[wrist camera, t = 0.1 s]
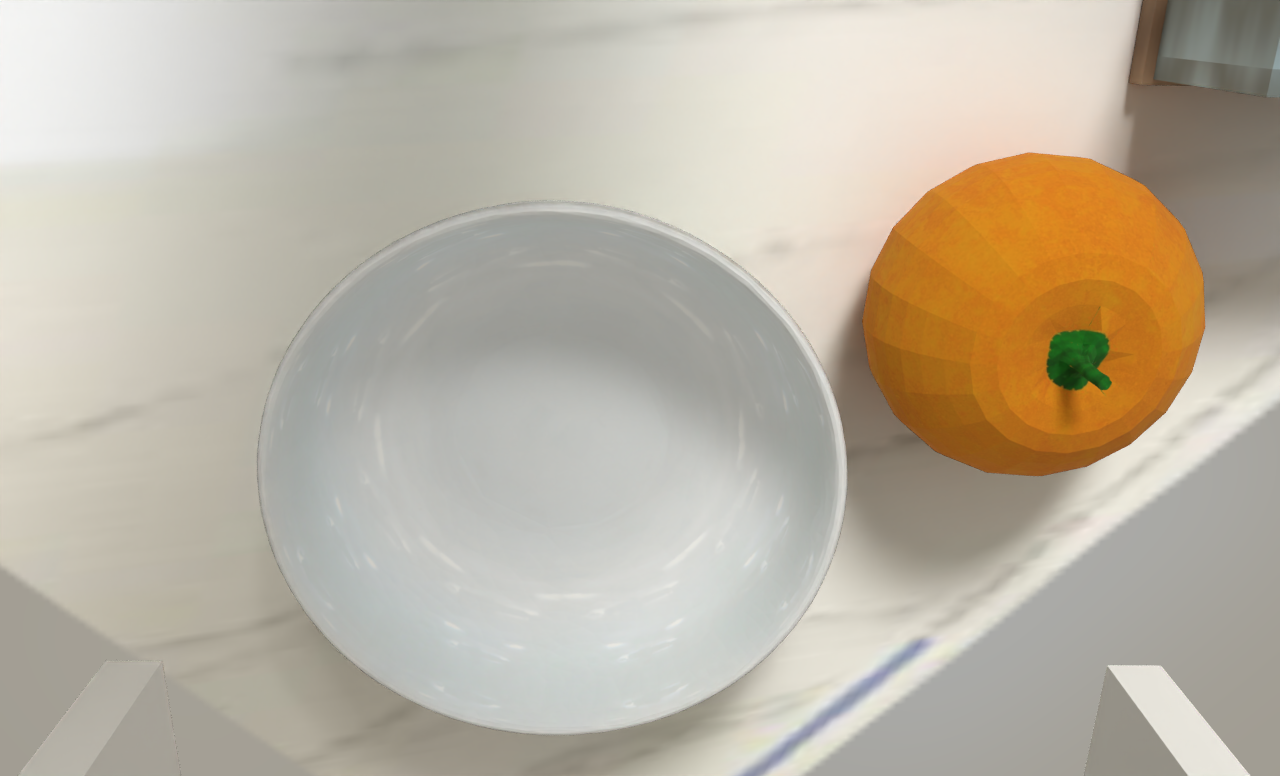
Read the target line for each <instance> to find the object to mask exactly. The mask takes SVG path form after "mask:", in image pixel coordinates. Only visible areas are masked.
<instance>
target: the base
mask: <svg viewBox="0 0 1280 776" xmlns="http://www.w3.org/2000/svg"><path fill="white" fill-rule="evenodd" d="M1129 83H1134V84H1139V85H1180V86H1199V87H1205V88H1211V89H1218V90H1224V91H1230V92H1237V93H1243V94H1249V95H1256V96H1262V97H1280V0H1143V4H1142V9H1141V15H1140V21H1139V26H1138V32H1137V38H1136V43H1135V49H1134V55H1133V61H1132V66H1131V72H1130V78H1129Z"/></svg>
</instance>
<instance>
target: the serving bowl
mask: <svg viewBox="0 0 1280 776" xmlns="http://www.w3.org/2000/svg"><path fill="white" fill-rule="evenodd" d="M257 480H258V490H259V499H260V506H261V512H262V517H263V521H264V525H265V529H266V533H267V536H268V539H269V543H270V546H271V548H272V551H273V554H274V557H275V559H276V561H277V564H278V566H279V568H280V570H281V572H282V574H283V576H284V578H285V580H286V582H287V584H288V586H289V588H290V590H291V591H292V593H293V595H294V596H295V598H296V599H297V601H298V602H299V604H300V605H301V607H302V608H303V610H304V611H305V613H306V614H307V616H308V617H309V618H310V619H311V621H312V622H313V623H314V624H315V625H316V627H317V628H318V629H319V630H320V631H321V633H322V634H323V635H324V636H325V637H326V638H327V639H328V640H329V642H330V643H331V644H332V645H333V646H334V647H335V648H336V649H337V650H338V651H339V652H340V653H341V654H342V655H344V656H345V657H346V658H347V659H348V660H350V661H351V662H352V663H353V664H354V665H356V666H357V667H358V668H359V669H360V670H361V671H363V672H364V673H365V674H367V675H368V676H370V677H371V678H372V679H374V680H375V681H377V682H378V683H380V684H381V685H383V686H385V687H386V688H388V689H390V690H391V691H393V692H395V693H397V694H398V695H400V696H402V697H404V698H406V699H408V700H410V701H412V702H414V703H416V704H418V705H420V706H422V707H424V708H426V709H428V710H431V711H434V712H436V713H439V714H441V715H444V716H447V717H449V718H452V719H456V720H459V721H462V722H466V723H469V724H473V725H476V726H481V727H485V728H490V729H495V730H500V731H507V732H514V733H523V734H534V735H577V734H588V733H599V732H607V731H613V730H618V729H624V728H629V727H633V726H637V725H641V724H645V723H649V722H653V721H656V720H659V719H662V718H665V717H667V716H670V715H673V714H676V713H678V712H681V711H684V710H686V709H688V708H690V707H692V706H694V705H697V704H699V703H701V702H703V701H705V700H706V699H708V698H710V697H712V696H713V695H715V694H717V693H719V692H721V691H722V690H724V689H726V688H727V687H729V686H730V685H732V684H733V683H735V682H736V681H738V680H739V679H740V678H742V677H743V676H744V675H746V674H747V673H749V672H750V671H751V670H752V669H754V668H755V667H756V666H757V665H758V664H759V663H761V662H762V661H763V660H764V659H765V658H766V657H767V656H768V655H769V654H770V653H771V652H773V650H774V649H775V648H776V647H777V646H778V645H779V644H780V643H781V642H782V641H783V640H784V639H785V638H786V636H787V635H788V634H789V633H790V632H791V631H792V629H793V628H794V627H795V626H796V624H797V623H798V622H799V620H800V619H801V617H802V616H803V615H804V613H805V612H806V610H807V609H808V607H809V606H810V604H811V603H812V601H813V599H814V598H815V596H816V594H817V592H818V590H819V588H820V586H821V584H822V582H823V580H824V578H825V576H826V574H827V571H828V569H829V567H830V564H831V561H832V559H833V556H834V553H835V551H836V547H837V544H838V540H839V537H840V533H841V528H842V524H843V519H844V512H845V506H846V495H847V455H846V445H845V439H844V433H843V427H842V421H841V417H840V413H839V410H838V406H837V402H836V399H835V397H834V394H833V391H832V388H831V385H830V383H829V380H828V377H827V375H826V373H825V371H824V369H823V367H822V365H821V363H820V361H819V359H818V357H817V355H816V353H815V352H814V350H813V348H812V346H811V344H810V343H809V341H808V339H807V338H806V336H805V335H804V334H803V332H802V331H801V329H800V328H799V326H798V325H797V323H796V322H795V321H794V320H793V318H792V317H791V316H790V315H789V313H788V312H787V311H786V310H785V308H784V307H783V306H782V305H781V304H780V303H779V302H778V300H777V299H776V298H775V297H774V296H773V295H772V294H771V293H770V292H769V291H768V290H767V289H766V288H765V287H764V286H763V285H762V284H761V283H760V282H759V281H758V280H756V279H755V278H754V277H753V276H752V275H750V274H749V273H748V272H747V271H746V270H744V269H743V268H742V267H741V266H740V265H738V264H737V263H736V262H734V261H733V260H731V259H730V258H729V257H727V256H726V255H724V254H723V253H721V252H720V251H718V250H716V249H715V248H713V247H712V246H710V245H709V244H707V243H705V242H703V241H702V240H700V239H698V238H696V237H694V236H693V235H691V234H689V233H687V232H685V231H682V230H680V229H678V228H676V227H674V226H672V225H669V224H667V223H664V222H662V221H659V220H657V219H655V218H651V217H648V216H645V215H642V214H639V213H635V212H632V211H628V210H624V209H620V208H616V207H611V206H606V205H600V204H594V203H585V202H574V201H560V200H555V201H526V202H517V203H508V204H502V205H497V206H492V207H487V208H481V209H477V210H474V211H470V212H467V213H463V214H459V215H456V216H453V217H450V218H447V219H444V220H441V221H438V222H436V223H434V224H431V225H429V226H427V227H424V228H422V229H419V230H417V231H415V232H413V233H411V234H409V235H407V236H405V237H403V238H401V239H399V240H397V241H395V242H393V243H392V244H390V245H388V246H387V247H385V248H384V249H382V250H380V251H379V252H377V253H376V254H375V255H373V256H372V257H370V258H369V259H367V260H366V261H365V262H363V263H362V264H360V265H359V266H358V267H357V268H356V269H354V270H353V271H352V272H351V273H350V274H349V275H347V276H346V277H345V278H344V279H343V280H342V281H341V282H340V283H338V284H337V285H336V286H335V287H334V288H333V289H332V290H331V291H330V292H329V293H328V294H327V296H326V297H325V298H324V299H323V300H322V301H321V302H320V303H319V304H318V306H317V307H316V308H315V309H314V310H313V312H312V313H311V314H310V315H309V317H308V318H307V319H306V321H305V322H304V324H303V325H302V327H301V328H300V330H299V331H298V333H297V334H296V336H295V337H294V339H293V340H292V342H291V344H290V345H289V347H288V349H287V351H286V353H285V355H284V357H283V359H282V361H281V363H280V365H279V367H278V369H277V371H276V374H275V377H274V379H273V382H272V385H271V388H270V391H269V393H268V397H267V400H266V404H265V408H264V412H263V416H262V421H261V427H260V433H259V441H258V452H257Z"/></svg>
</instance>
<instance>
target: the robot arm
mask: <svg viewBox="0 0 1280 776" xmlns="http://www.w3.org/2000/svg"><path fill="white" fill-rule="evenodd" d="M18 776H181V772H180V766H179V760H178V753H177V747H176V741H175V735H174V729H173V723H172V717H171V711H170V705H169V699H168V693H167V687H166V681H165V675H164V669H163V663H162V661H105V662H104V663H103V665H102V666H101V667H100V668H99V670H98V671H97V672H96V674H95V675H94V676H93V678H92V679H91V680H90V682H89V683H88V684H87V686H86V687H85V688H84V689H83V691H82V692H81V694H80V695H79V696H78V697H77V699H76V700H75V701H74V703H73V704H72V705H71V706H70V708H69V709H68V710H67V712H66V713H65V714H64V716H63V717H62V718H61V720H60V721H59V722H58V723H57V725H56V726H55V727H54V729H53V730H52V731H51V733H50V734H49V735H48V737H47V738H46V739H45V741H44V742H43V743H42V744H41V746H40V747H39V748H38V750H37V751H36V752H35V754H34V755H33V756H32V758H31V759H30V760H29V761H28V763H27V764H26V765H25V767H24V768H23V769H22V771H21V772H20V773H19V775H18ZM1084 776H1250V775H1249V774H1248V772H1247V771H1246V770H1245V769H1244V768H1243V766H1242V765H1241V764H1240V763H1239V761H1238V760H1237V759H1236V758H1235V756H1234V755H1233V754H1232V753H1231V751H1230V750H1229V749H1228V748H1227V747H1226V746H1225V744H1224V743H1223V742H1222V740H1221V739H1220V738H1219V737H1218V736H1217V734H1216V733H1215V732H1214V731H1213V729H1212V728H1211V727H1210V726H1209V724H1208V723H1207V722H1206V721H1205V720H1204V718H1203V717H1202V716H1201V715H1200V713H1199V712H1198V711H1197V710H1196V708H1195V707H1194V706H1193V705H1192V703H1191V702H1190V701H1189V700H1188V699H1187V697H1186V696H1185V695H1184V694H1183V692H1182V691H1181V690H1180V689H1179V687H1178V686H1177V685H1176V684H1175V683H1174V681H1173V680H1172V679H1171V678H1170V676H1169V675H1168V674H1167V673H1166V671H1165V670H1164V669H1163V668H1162V667H1161V666H1127V665H1125V666H1124V665H1123V666H1122V665H1120V666H1119V665H1117V666H1116V665H1107V669H1106V673H1105V678H1104V682H1103V688H1102V692H1101V697H1100V702H1099V706H1098V711H1097V716H1096V720H1095V725H1094V729H1093V734H1092V739H1091V743H1090V748H1089V753H1088V758H1087V762H1086V767H1085V772H1084Z"/></svg>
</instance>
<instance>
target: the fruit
mask: <svg viewBox="0 0 1280 776" xmlns="http://www.w3.org/2000/svg"><path fill="white" fill-rule="evenodd" d="M862 323H863V330H864V336H865V343H866V349H867V355H868V362H869V367H870V370H871V372H872V375H873V377H874V378H875V380H876V382H877V384H878V386H879V388H880V389H881V391H882V393H883V395H884V397H885V398H886V400H887V402H888V404H889V406H890V408H891V409H892V411H893V413H894V415H895V416H896V417H897V418H898V419H899V420H900V421H901V422H902V423H903V424H905V425H906V426H907V427H908V428H909V429H910V430H911V431H913V432H914V433H915V434H916V435H917V436H918V437H919V438H921V439H922V440H923V441H924V442H925V443H926V444H927V445H929V446H930V447H931V448H932V449H933V450H934V451H936V452H938V453H940V454H942V455H945V456H947V457H950V458H952V459H955V460H957V461H960V462H962V463H964V464H967V465H969V466H972V467H974V468H977V469H979V470H982V471H984V472H987V473H1000V474H1013V475H1026V476H1044V475H1049V474H1053V473H1058V472H1063V471H1068V470H1072V469H1077V468H1082V467H1087V466H1089V465H1091V464H1093V463H1095V462H1097V461H1099V460H1101V459H1103V458H1105V457H1106V456H1108V455H1110V454H1112V453H1114V452H1116V451H1118V450H1120V449H1122V448H1124V447H1126V446H1128V445H1130V444H1131V443H1132V442H1133V441H1134V440H1136V439H1137V438H1138V437H1139V436H1140V435H1141V434H1142V433H1143V432H1145V431H1146V430H1147V429H1148V428H1149V427H1150V426H1151V425H1152V424H1154V423H1155V422H1156V421H1157V420H1158V419H1159V418H1160V417H1161V416H1162V415H1164V414H1165V413H1166V411H1167V410H1168V408H1169V407H1170V405H1171V404H1172V402H1173V401H1174V399H1175V397H1176V396H1177V394H1178V393H1179V391H1180V390H1181V388H1182V387H1183V385H1184V384H1185V382H1186V380H1187V379H1188V377H1189V376H1190V374H1191V373H1192V370H1193V367H1194V363H1195V360H1196V356H1197V353H1198V350H1199V346H1200V343H1201V340H1202V336H1203V333H1204V329H1205V309H1204V281H1203V273H1202V270H1201V268H1200V265H1199V263H1198V261H1197V258H1196V256H1195V253H1194V251H1193V248H1192V246H1191V243H1190V241H1189V239H1188V236H1187V234H1186V231H1185V229H1184V228H1183V226H1182V225H1181V223H1180V222H1179V221H1178V220H1177V219H1176V218H1175V216H1174V215H1173V214H1172V213H1171V212H1170V211H1169V210H1168V209H1167V208H1166V207H1165V206H1164V205H1163V204H1162V203H1161V202H1160V201H1159V200H1158V199H1157V198H1156V197H1155V196H1154V195H1153V194H1152V192H1151V191H1150V190H1149V189H1148V188H1147V187H1146V186H1145V185H1143V184H1141V183H1139V182H1138V181H1136V180H1134V179H1132V178H1130V177H1128V176H1126V175H1124V174H1121V173H1119V172H1117V171H1115V170H1113V169H1111V168H1109V167H1106V166H1104V165H1102V164H1100V163H1098V162H1096V161H1094V160H1091V159H1088V158H1081V157H1071V156H1060V155H1049V154H1038V153H1025V154H1020V155H1016V156H1011V157H1007V158H1003V159H998V160H994V161H990V162H985V163H981V164H977V165H974V166H972V167H970V168H968V169H967V170H965V171H963V172H961V173H959V174H958V175H956V176H954V177H952V178H951V179H949V180H947V181H945V182H944V183H942V184H940V185H938V186H937V187H935V188H933V189H931V190H930V191H928V192H927V193H926V194H925V195H924V196H923V197H922V198H921V199H920V200H919V201H918V202H917V203H916V204H915V205H914V206H913V207H912V209H911V210H910V211H909V212H908V213H907V214H906V215H905V216H904V217H903V218H902V219H901V220H900V221H899V222H898V223H897V224H896V225H895V226H894V227H893V229H892V231H891V233H890V235H889V237H888V239H887V240H886V242H885V244H884V246H883V248H882V250H881V252H880V254H879V256H878V258H877V260H876V262H875V264H874V266H873V268H872V269H871V274H870V279H869V285H868V291H867V297H866V302H865V308H864V314H863V320H862Z"/></svg>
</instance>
